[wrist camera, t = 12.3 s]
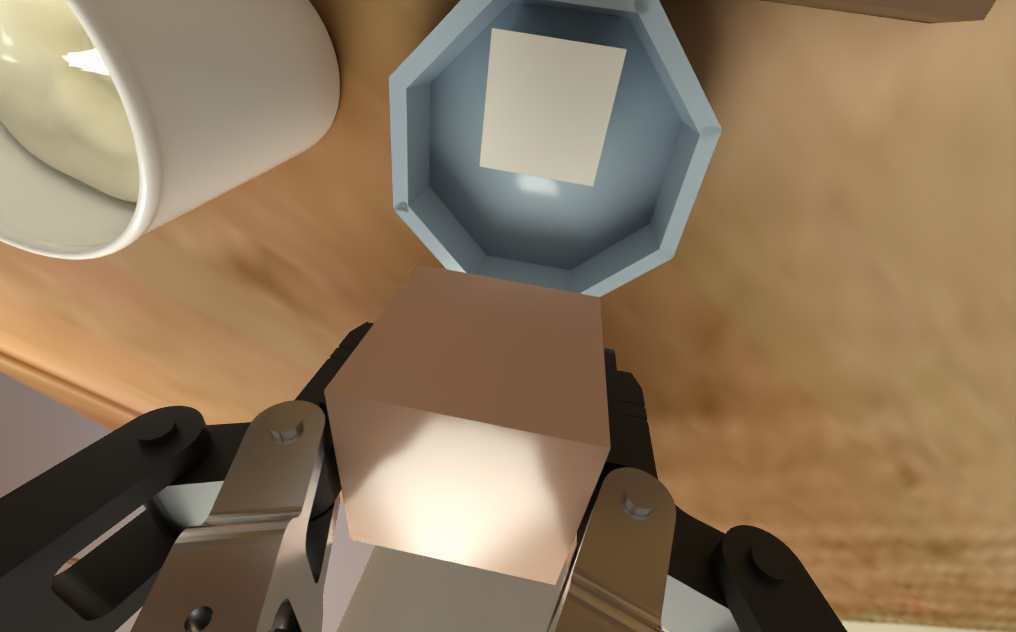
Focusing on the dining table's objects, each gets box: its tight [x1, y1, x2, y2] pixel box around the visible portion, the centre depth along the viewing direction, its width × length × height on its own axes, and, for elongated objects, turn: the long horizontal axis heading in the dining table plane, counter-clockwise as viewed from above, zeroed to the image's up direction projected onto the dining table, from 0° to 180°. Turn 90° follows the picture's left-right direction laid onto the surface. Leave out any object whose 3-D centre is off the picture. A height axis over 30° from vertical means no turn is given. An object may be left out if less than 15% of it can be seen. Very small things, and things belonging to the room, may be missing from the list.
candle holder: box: [0, 0, 340, 259], centre depth 15 cm, size 10×10×12 cm
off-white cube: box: [480, 28, 627, 186], centre depth 17 cm, size 4×4×4 cm
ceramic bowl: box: [389, 0, 722, 297], centre depth 19 cm, size 13×13×4 cm
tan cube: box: [324, 264, 611, 585], centre depth 9 cm, size 4×4×4 cm
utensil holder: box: [337, 545, 567, 632], centre depth 29 cm, size 15×15×18 cm
